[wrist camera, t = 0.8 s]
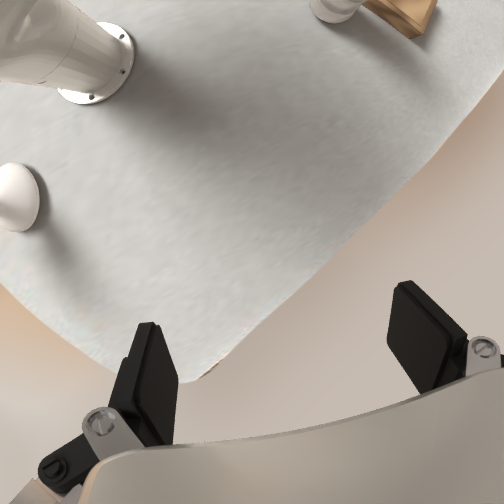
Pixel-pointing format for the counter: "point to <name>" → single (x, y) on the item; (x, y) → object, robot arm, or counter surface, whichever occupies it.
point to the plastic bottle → (334, 9)
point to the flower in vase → (17, 197)
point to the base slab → (404, 14)
